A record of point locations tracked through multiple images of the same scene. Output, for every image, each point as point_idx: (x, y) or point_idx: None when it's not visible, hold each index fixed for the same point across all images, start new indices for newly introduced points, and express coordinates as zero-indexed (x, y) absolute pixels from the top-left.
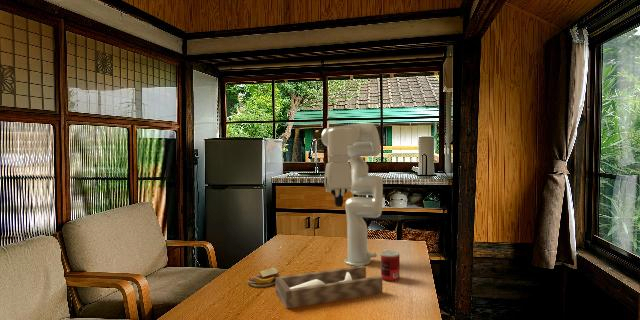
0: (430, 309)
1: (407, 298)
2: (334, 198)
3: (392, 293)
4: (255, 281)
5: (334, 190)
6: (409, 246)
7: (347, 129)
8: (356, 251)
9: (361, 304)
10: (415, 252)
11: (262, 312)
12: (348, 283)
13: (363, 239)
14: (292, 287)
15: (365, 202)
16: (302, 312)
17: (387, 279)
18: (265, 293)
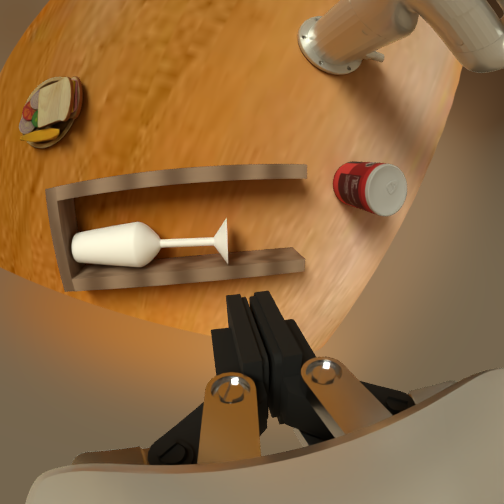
0: (324, 338)
1: (320, 294)
2: (215, 367)
3: (309, 265)
4: (33, 119)
5: (234, 455)
6: None
7: None
8: (337, 49)
9: (224, 299)
10: (449, 75)
11: (42, 278)
12: (211, 279)
13: (376, 47)
14: (79, 252)
15: (475, 23)
16: (105, 300)
17: (338, 198)
18: (44, 185)
